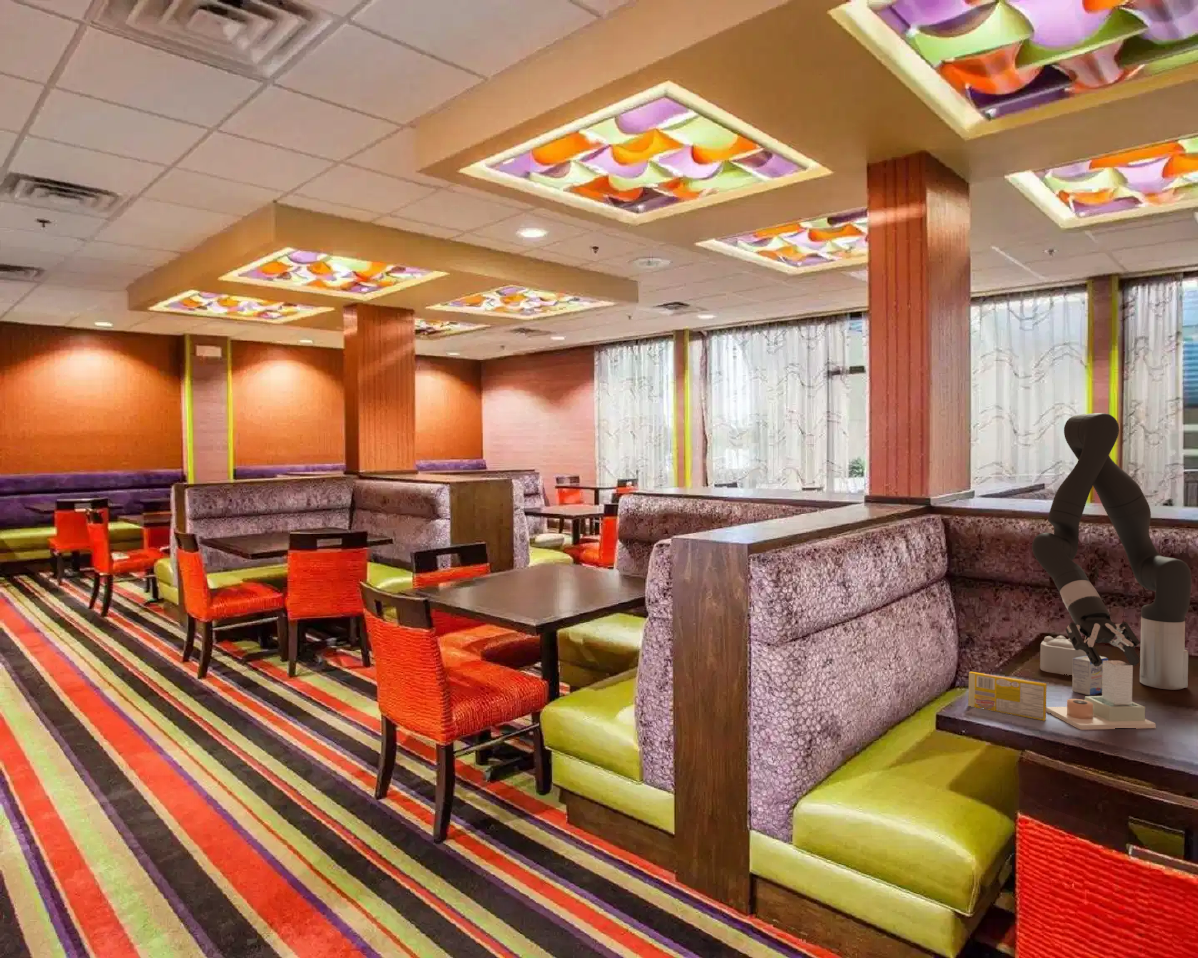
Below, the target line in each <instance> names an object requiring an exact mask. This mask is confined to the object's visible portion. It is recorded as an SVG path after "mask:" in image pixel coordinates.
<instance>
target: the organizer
mask: <svg viewBox="0 0 1198 958" xmlns="http://www.w3.org/2000/svg"><path fill="white" fill-rule="evenodd" d="M1046 713H1047V714H1050V713H1051V714H1050V715H1052V716H1053V717H1056V718H1058V719H1060V720H1061V721H1064V722H1065V723H1067V724H1068V725H1071V726H1073V727H1075V728H1076V729H1078V730H1081V731H1082V730H1087V731H1088V730H1116V729H1115V728H1136V729H1156V728H1157V727H1156V722H1153V721H1151V720H1149V719H1147V718H1146V706H1143V705H1141V704H1139V703H1137V702H1134V701H1132V706H1117V707H1110V706H1108V705H1106V704H1104V703H1102V695H1091V696H1088V695H1086V696H1084V699H1079V698H1069V699H1067V700H1066V706H1046Z"/></svg>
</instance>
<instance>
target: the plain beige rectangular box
mask: <svg viewBox="0 0 1198 958" xmlns="http://www.w3.org/2000/svg"><path fill="white" fill-rule="evenodd" d="M1133 670H1134V666H1133V665H1130V663H1129V662H1125V661H1122V660H1108V661H1103V676H1102V693H1101V696H1102V703H1104V704H1106V705H1108V706H1110V707H1117V706H1132V702H1133Z"/></svg>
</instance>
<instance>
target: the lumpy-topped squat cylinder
mask: <svg viewBox="0 0 1198 958" xmlns="http://www.w3.org/2000/svg"><path fill="white" fill-rule="evenodd" d="M1039 655H1040V657H1039V661H1040V662H1039V663H1040V664H1039V669H1040V670H1041V671H1043V672H1047V673H1053V674H1059V675H1064V674H1065V676H1069V675H1072V668H1073V658H1077V657H1082V656H1087V654H1086V652H1084V651H1083V650H1080V649H1079V650H1075V649H1074V647H1073V645H1072V643H1071V640H1070V638H1069V637H1068V639H1067V638H1066V637H1065V636H1064V635H1057V636H1056V637H1055V638H1054V637H1052V636H1050V635H1048V636H1044V639H1043V640H1042V641H1041V643H1040V653H1039ZM1066 674H1067V675H1066Z"/></svg>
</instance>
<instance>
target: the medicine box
mask: <svg viewBox="0 0 1198 958" xmlns="http://www.w3.org/2000/svg"><path fill="white" fill-rule="evenodd" d="M1099 656H1100V658H1101V660H1102V664H1101V665H1100V666H1094V664H1092V663H1091V662H1090V660H1089V658H1088V656H1087V655H1086V656H1082V657H1077V658H1073V668H1072V676H1071V677H1072V678H1071V679H1072V682H1071V683H1072V685H1071V686H1072V687H1071V689H1072V692H1073V693H1077V694H1081V695H1082V694H1083V695H1086V696H1096V695H1098V694H1102V676H1103V661H1109V658H1108V657H1106V656H1101V655H1099Z"/></svg>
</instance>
